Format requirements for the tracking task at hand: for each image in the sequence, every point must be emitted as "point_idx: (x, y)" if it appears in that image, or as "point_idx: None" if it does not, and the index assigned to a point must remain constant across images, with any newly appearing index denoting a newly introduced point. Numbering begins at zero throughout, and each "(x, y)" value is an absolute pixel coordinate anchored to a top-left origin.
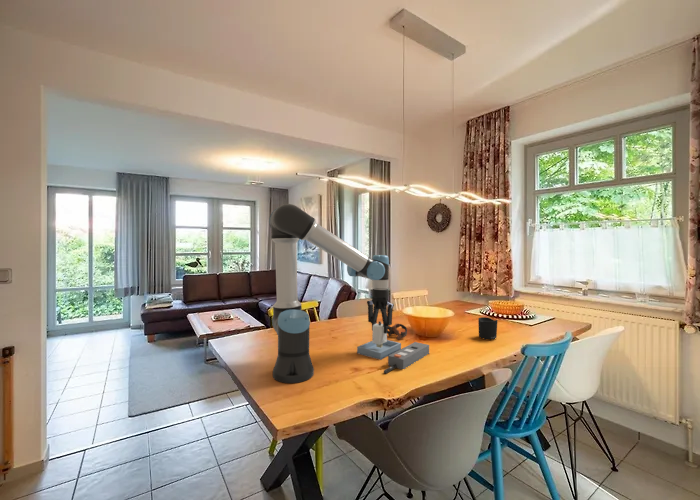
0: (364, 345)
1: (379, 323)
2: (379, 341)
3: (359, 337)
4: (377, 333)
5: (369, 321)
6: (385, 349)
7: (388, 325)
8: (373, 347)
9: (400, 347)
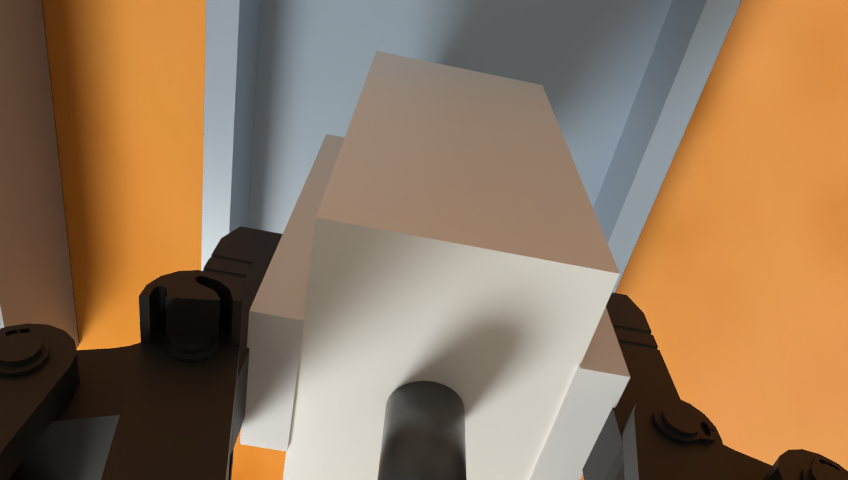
0: (683, 44)
1: (418, 428)
2: (375, 70)
3: (840, 464)
4: (421, 140)
5: (808, 466)
6: None
7: (14, 331)
8: None
9: None
